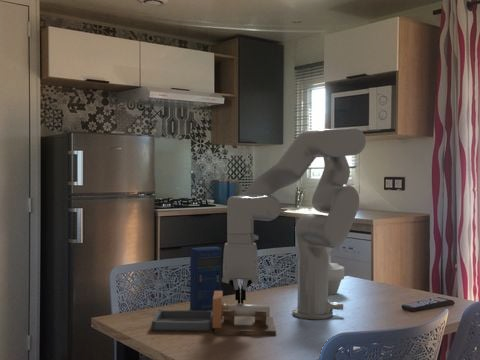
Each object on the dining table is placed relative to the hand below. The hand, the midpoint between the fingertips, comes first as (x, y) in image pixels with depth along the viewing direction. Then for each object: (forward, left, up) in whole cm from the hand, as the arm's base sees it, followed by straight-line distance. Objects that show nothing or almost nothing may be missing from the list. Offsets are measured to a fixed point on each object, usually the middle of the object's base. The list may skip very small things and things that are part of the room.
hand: (240, 302), depth 157 cm
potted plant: (-33, -46, -7) cm, 57 cm away
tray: (+16, -2, -7) cm, 18 cm away
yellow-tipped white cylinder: (-1, 0, -4) cm, 4 cm away
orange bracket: (+7, 0, -6) cm, 9 cm away
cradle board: (-1, 0, -7) cm, 7 cm away
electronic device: (+11, -20, -7) cm, 24 cm away
